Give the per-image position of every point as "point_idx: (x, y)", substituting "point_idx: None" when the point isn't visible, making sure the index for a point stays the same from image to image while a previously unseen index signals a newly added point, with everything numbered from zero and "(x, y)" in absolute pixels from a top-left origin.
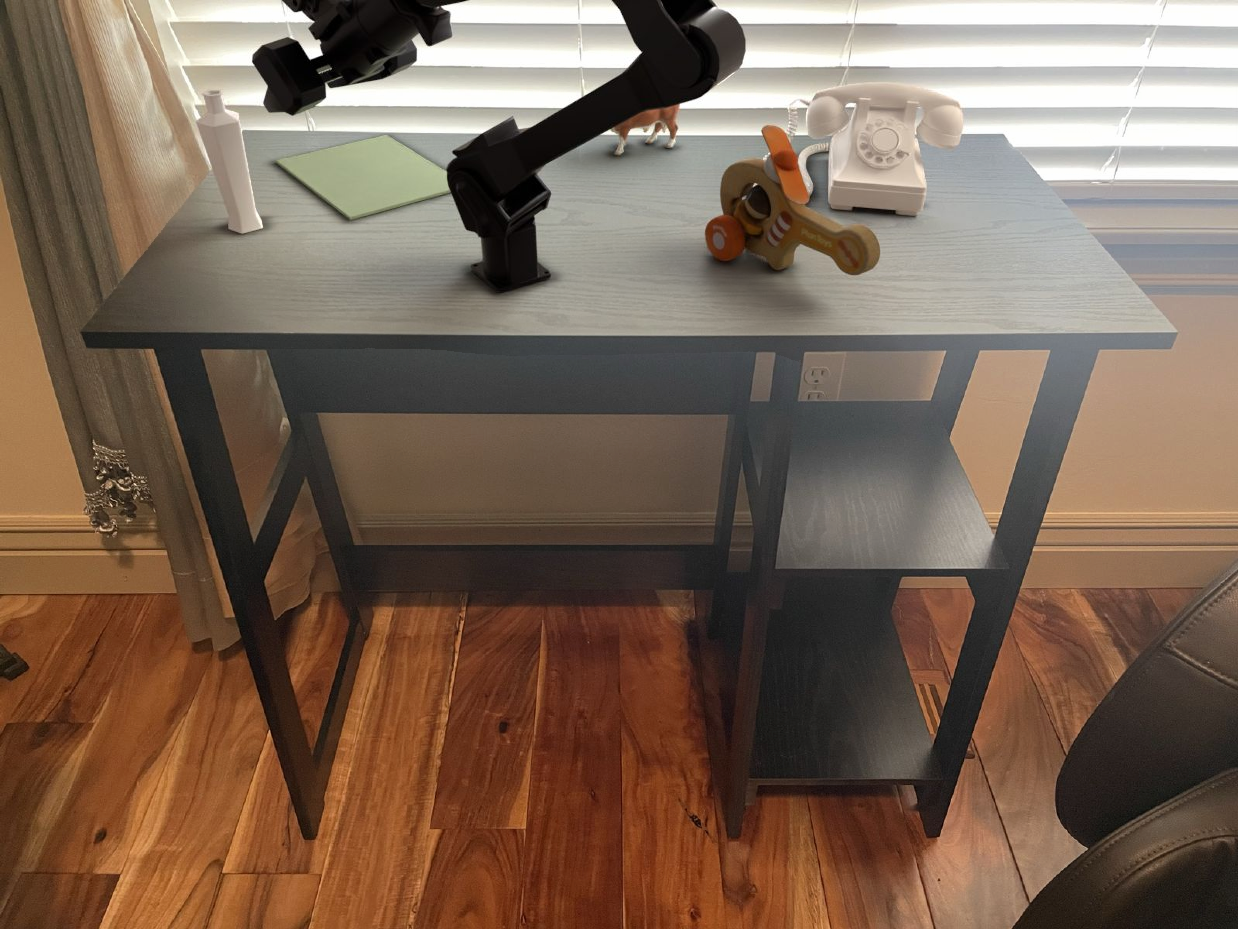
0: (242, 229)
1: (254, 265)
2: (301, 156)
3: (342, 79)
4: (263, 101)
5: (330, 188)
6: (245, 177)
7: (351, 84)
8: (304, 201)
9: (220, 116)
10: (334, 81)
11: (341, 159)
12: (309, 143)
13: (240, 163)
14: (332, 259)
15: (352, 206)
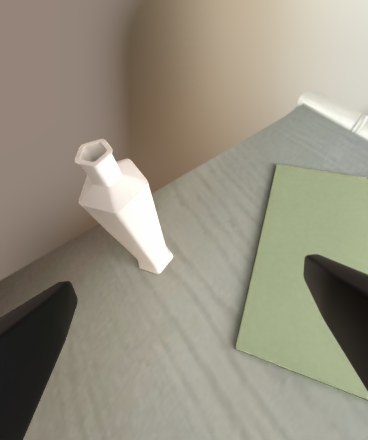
0: (139, 266)
1: (84, 343)
2: (303, 172)
3: (342, 331)
4: (52, 286)
5: (274, 257)
6: (138, 248)
7: (357, 372)
8: (234, 256)
9: (97, 191)
10: (319, 296)
11: (336, 205)
12: (333, 150)
13: (129, 239)
14: (134, 428)
15: (259, 324)
